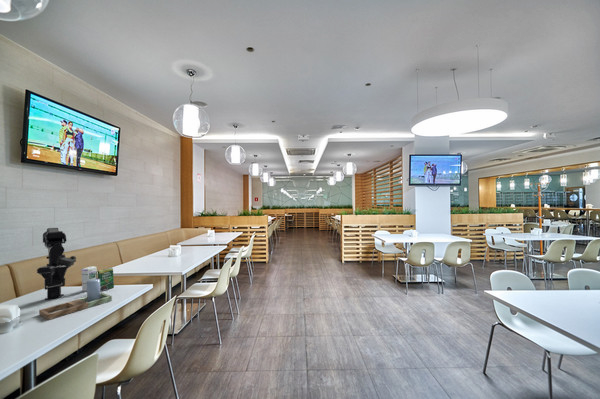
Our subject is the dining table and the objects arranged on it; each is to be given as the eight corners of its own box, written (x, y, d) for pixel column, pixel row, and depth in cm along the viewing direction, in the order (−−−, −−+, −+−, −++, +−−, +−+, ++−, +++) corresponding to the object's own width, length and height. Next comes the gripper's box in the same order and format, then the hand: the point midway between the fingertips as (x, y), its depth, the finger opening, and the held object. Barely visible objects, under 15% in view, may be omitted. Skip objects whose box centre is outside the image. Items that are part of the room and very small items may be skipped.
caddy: (47, 320, 125) (47, 314, 125) (39, 314, 131) (39, 310, 131) (111, 300, 148) (111, 296, 148) (101, 296, 154) (101, 292, 154)
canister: (91, 301, 148) (90, 279, 148) (102, 299, 149) (102, 278, 150) (84, 305, 142) (84, 282, 142) (96, 303, 144) (96, 281, 144)
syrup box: (89, 291, 166) (88, 268, 166) (81, 290, 167) (81, 268, 167) (97, 288, 171) (97, 266, 171) (90, 287, 172) (89, 266, 173)
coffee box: (99, 291, 164) (99, 271, 164) (97, 290, 166) (97, 270, 166) (114, 287, 171) (113, 268, 171) (112, 287, 172) (111, 267, 173)
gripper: (60, 256, 137) (61, 285, 137) (82, 249, 155) (83, 275, 155) (35, 257, 134) (36, 287, 134) (61, 251, 153) (61, 277, 153)
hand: (56, 281), depth 144 cm, fingers open, 9 cm apart
